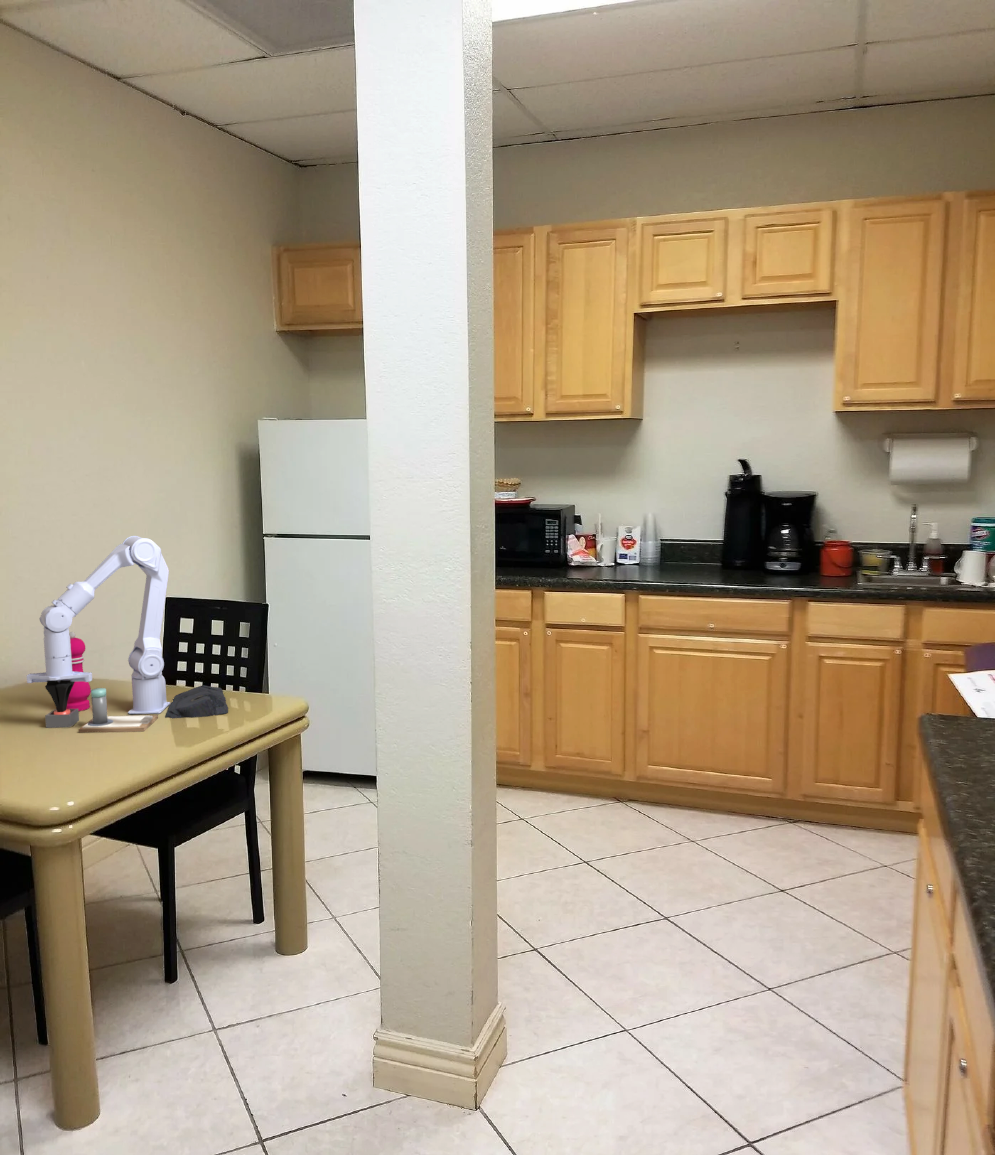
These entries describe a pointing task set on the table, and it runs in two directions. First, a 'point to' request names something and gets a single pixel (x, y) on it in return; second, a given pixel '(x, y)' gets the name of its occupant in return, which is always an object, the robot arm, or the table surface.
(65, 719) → the button box
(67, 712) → the button
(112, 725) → the clipboard
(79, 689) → the pepper mill
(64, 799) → the table surface
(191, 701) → the dark slate chunk
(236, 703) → the table surface
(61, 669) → the robot arm
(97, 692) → the marker
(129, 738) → the table surface
